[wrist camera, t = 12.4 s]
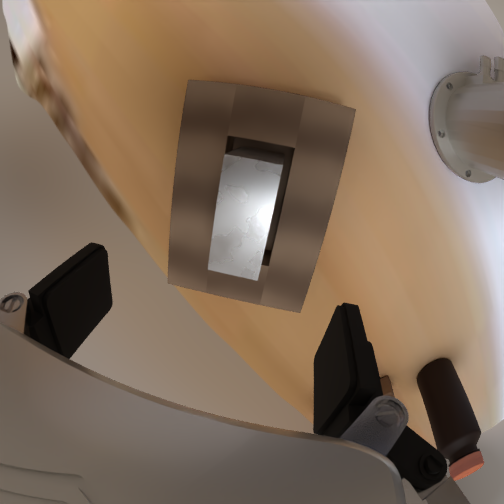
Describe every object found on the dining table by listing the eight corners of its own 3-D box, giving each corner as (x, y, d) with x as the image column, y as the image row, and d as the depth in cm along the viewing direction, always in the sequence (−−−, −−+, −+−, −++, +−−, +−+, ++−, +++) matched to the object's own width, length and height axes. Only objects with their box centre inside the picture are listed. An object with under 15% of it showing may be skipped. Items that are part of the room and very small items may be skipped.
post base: (203, 86, 24) (188, 79, 20) (345, 111, 24) (355, 109, 20) (181, 263, 33) (167, 283, 29) (299, 289, 32) (300, 313, 28)
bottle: (409, 377, 37) (437, 484, 19) (442, 351, 34) (484, 457, 16) (426, 389, 38) (453, 484, 20) (456, 366, 35) (494, 460, 17)
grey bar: (242, 146, 26) (224, 154, 18) (284, 154, 25) (283, 165, 18) (227, 232, 29) (207, 269, 22) (265, 241, 29) (257, 280, 22)
